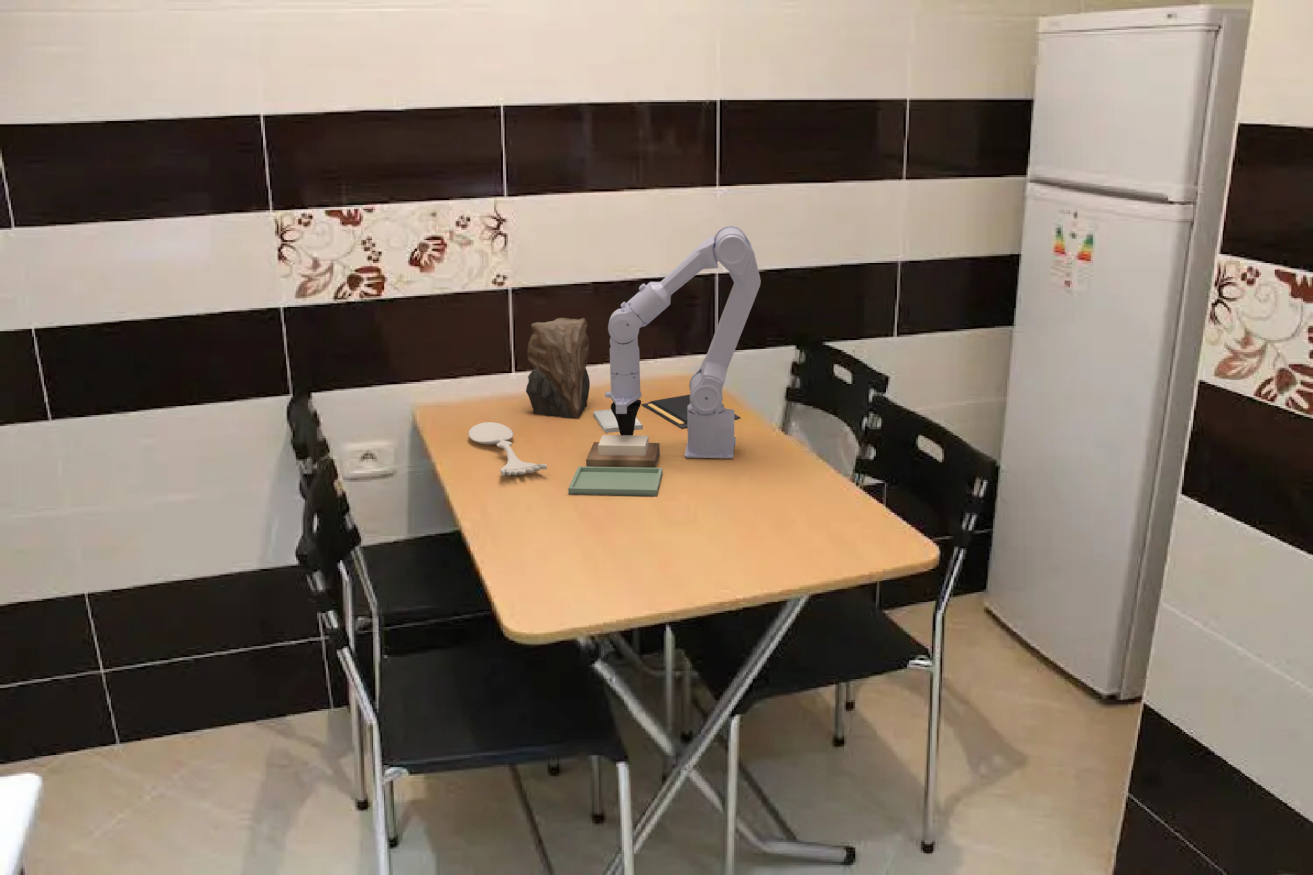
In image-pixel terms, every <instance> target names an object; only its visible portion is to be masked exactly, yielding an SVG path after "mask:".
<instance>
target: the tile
mask: <svg viewBox="0 0 1313 875" xmlns="http://www.w3.org/2000/svg"><path fill="white" fill-rule="evenodd" d="M649 440H650V438H649V435H641V434H640V435H637V434H633V435H620V434H602V436H601V438H600V440H599V441H598V442H599V444H598V455H622V456H645V455H646V452H647V449H648V446H649V443H650V442H649Z"/></svg>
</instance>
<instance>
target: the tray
mask: <svg viewBox="0 0 1313 875" xmlns="http://www.w3.org/2000/svg"><path fill="white" fill-rule="evenodd" d="M663 470H664V469H663V467H656V468H646V467H586V465H585V466H582V465H581V466H577V468H576V470H575V472H574V475H573V477H572V479H571V480H570V483H569V485H568V488H567V490H568V495H571V496H573V495H574V496H577V495H578V496H579V495H580V496H581V495H582V496H586V495H587V496H627V497H628V496H629V497H631V496H632V497H658V494H659V490H660V486H661V481H662V478H663V474H664V473H663Z"/></svg>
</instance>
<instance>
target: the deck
mask: <svg viewBox="0 0 1313 875" xmlns="http://www.w3.org/2000/svg"><path fill="white" fill-rule="evenodd" d="M599 442H600V441H594V442H593V444H592V446H591V448H590V450H589V452H588V453H587V457H586V459H585V467H646V468H658V467H657V466H658V462H659V458H660V454H661V448H660V442H649V446H648V449H647V452H646V455H645V456H622V455H598V444H599Z"/></svg>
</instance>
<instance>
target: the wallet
mask: <svg viewBox="0 0 1313 875" xmlns="http://www.w3.org/2000/svg"><path fill="white" fill-rule="evenodd" d="M689 404H690V394H686V395H680V396H673V397H667V398H661V399H655V400H651V401H648V402H645V403H641V405H640V406H641V407H643V408H645V409H646V410H648V411H650V412H652V413H653V414H655V415H657V416H658V417H661V418H662V419H664V420H666V421H668V423H670V424H672V425H674V426H675V427H677V428H679V429H681V430H683V429H688V418H687V406H688V405H689ZM740 419H741V416H739V415H737V414H735V413H734V421H737V420H740Z"/></svg>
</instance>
